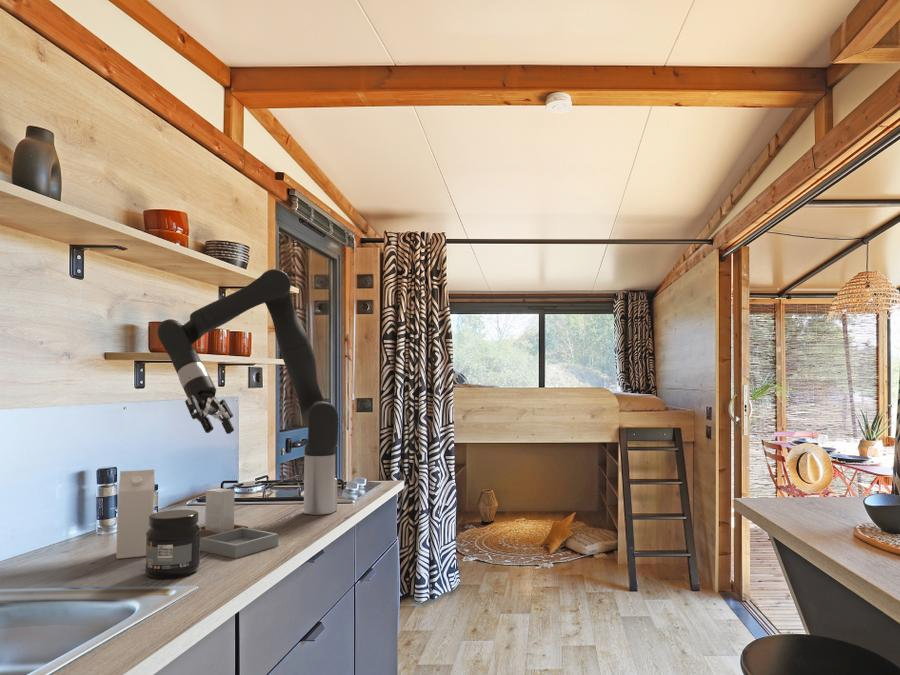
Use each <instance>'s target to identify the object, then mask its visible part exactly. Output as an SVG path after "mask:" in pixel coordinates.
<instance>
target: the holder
mask: <svg viewBox="0 0 900 675" xmlns="http://www.w3.org/2000/svg"><path fill="white" fill-rule="evenodd" d="M199 526H200V528H201V532H200V538H203V537H207V536H211V535H215V534H219V532H214V531H209V530H205V524H204V525H199ZM239 528H249V526H247V525H241V524H236V523H234V529H232V530H235V529H239ZM228 531H231V530H228ZM224 532H227V531H224ZM220 533H223V532H220Z"/></svg>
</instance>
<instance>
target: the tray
mask: <svg viewBox="0 0 900 675" xmlns="http://www.w3.org/2000/svg"><path fill="white" fill-rule="evenodd" d="M278 546H279V533H275V532H270V531H269V532H268V531H264V530H258V529H253V528H249V527H248V528H239V529H235V530H231V531H227V532H223V533H219V534H215V535H211V536H207V537H203V538H200V552H201V551H202V552H204V553H209V554H214V555H219V556H223V557H226V558H227V557H229V558H232V559H237V558H238V559H239V558H241V557H245V556H248V555H251V554H255V553H258V552H261V551H264V550H268V549H271V548H276V547H278Z"/></svg>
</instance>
